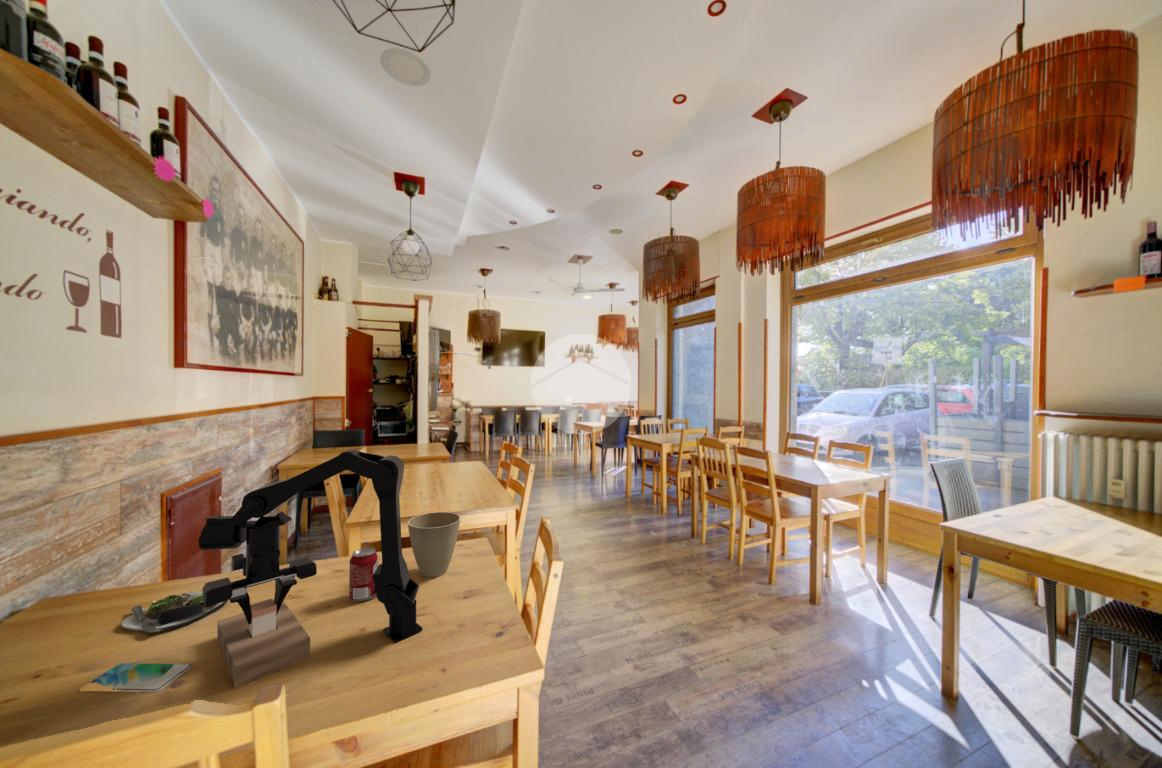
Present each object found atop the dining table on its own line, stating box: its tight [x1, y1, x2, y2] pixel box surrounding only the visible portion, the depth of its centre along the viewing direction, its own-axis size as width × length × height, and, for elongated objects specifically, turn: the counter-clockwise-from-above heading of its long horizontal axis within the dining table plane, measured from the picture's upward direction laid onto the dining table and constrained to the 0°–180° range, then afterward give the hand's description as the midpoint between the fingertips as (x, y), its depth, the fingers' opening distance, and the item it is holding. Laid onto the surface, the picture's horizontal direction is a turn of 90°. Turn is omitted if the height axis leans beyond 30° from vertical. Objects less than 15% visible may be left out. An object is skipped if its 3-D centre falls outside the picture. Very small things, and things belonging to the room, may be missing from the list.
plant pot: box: [407, 511, 461, 578], centre depth 125 cm, size 15×15×16 cm
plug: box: [249, 598, 277, 638], centre depth 89 cm, size 4×4×8 cm
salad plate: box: [121, 591, 228, 634], centre depth 101 cm, size 19×18×5 cm
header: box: [216, 601, 311, 689], centre depth 89 cm, size 22×12×4 cm, turn 48°
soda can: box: [348, 547, 379, 602], centre depth 110 cm, size 7×7×12 cm
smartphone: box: [89, 662, 193, 693], centre depth 79 cm, size 7×1×15 cm
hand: (262, 619), depth 89 cm, fingers closed on plug, 4 cm apart
